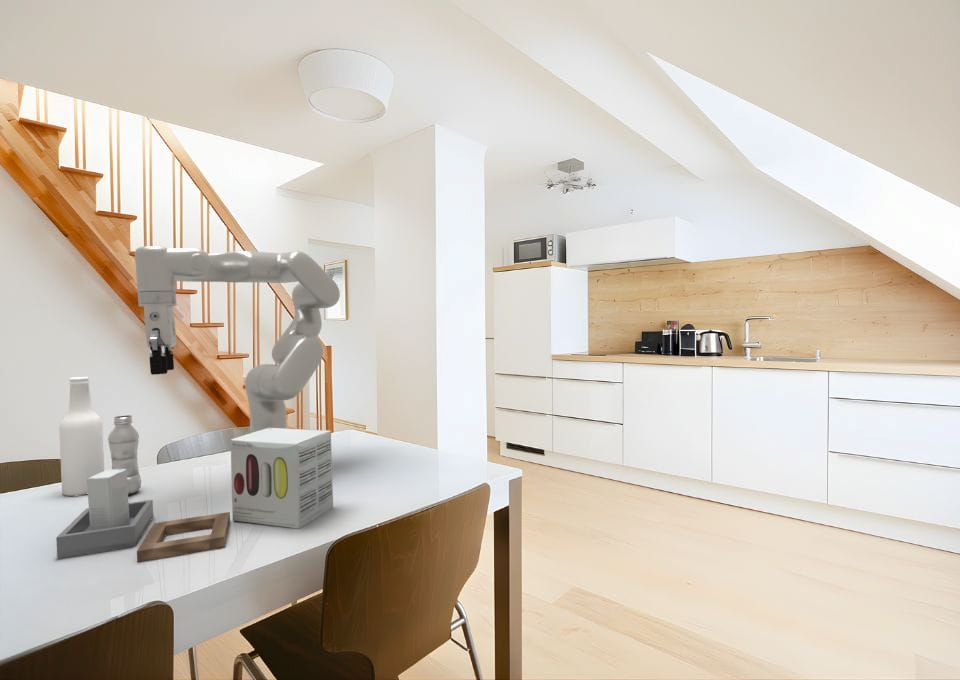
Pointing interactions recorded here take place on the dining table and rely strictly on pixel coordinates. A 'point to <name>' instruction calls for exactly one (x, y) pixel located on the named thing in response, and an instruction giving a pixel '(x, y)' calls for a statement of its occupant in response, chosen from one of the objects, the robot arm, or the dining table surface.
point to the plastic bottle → (125, 450)
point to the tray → (104, 533)
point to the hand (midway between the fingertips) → (163, 372)
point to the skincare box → (108, 499)
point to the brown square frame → (158, 549)
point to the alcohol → (80, 440)
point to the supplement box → (281, 476)
